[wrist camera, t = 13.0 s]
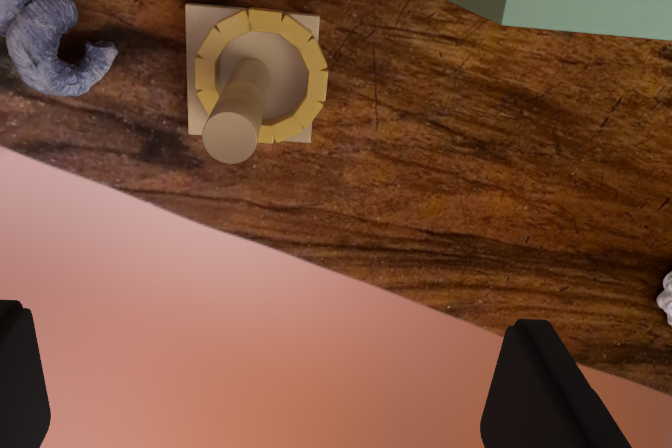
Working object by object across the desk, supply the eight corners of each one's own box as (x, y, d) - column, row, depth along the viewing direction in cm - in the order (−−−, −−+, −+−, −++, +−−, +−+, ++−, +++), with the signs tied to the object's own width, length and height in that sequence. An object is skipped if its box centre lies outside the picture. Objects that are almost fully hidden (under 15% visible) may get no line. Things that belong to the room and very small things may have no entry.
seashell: (117, 71, 37) (-1, -72, 34) (137, 52, 33) (3, -116, 29) (50, 120, 35) (-84, -27, 32) (61, 107, 31) (-94, -66, 27)
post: (187, 2, 35) (130, 36, 23) (319, 14, 35) (327, 53, 24) (190, 129, 38) (141, 214, 27) (310, 138, 39) (313, 224, 27)
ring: (198, 0, 34) (194, 3, 33) (333, 15, 34) (333, 18, 33) (197, 131, 37) (194, 137, 36) (320, 142, 38) (320, 148, 37)
